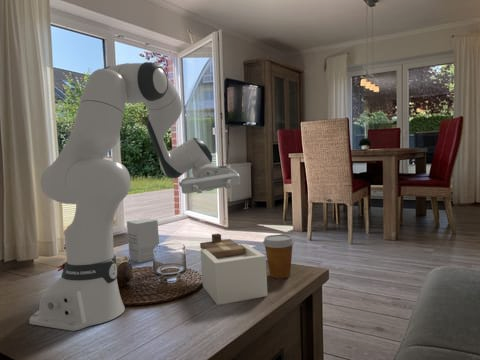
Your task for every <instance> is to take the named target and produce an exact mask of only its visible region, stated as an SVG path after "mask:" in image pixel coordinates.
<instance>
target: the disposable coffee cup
mask: <svg viewBox="0 0 480 360" xmlns="http://www.w3.org/2000/svg"><path fill="white" fill-rule="evenodd" d="M294 241H295V240H294V239H293V236H292V235H288V234H271V235H267V236H265V237H264V239H263V242H262V243H263V245H264V248H265V253H266V255H265V256H266V262H267V266H268V271H269V276H270V277H271V278H273V279H287V278H289V277H291V270H292V269H291V268H292V257H293V245H294V243H295V242H294Z"/></svg>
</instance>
